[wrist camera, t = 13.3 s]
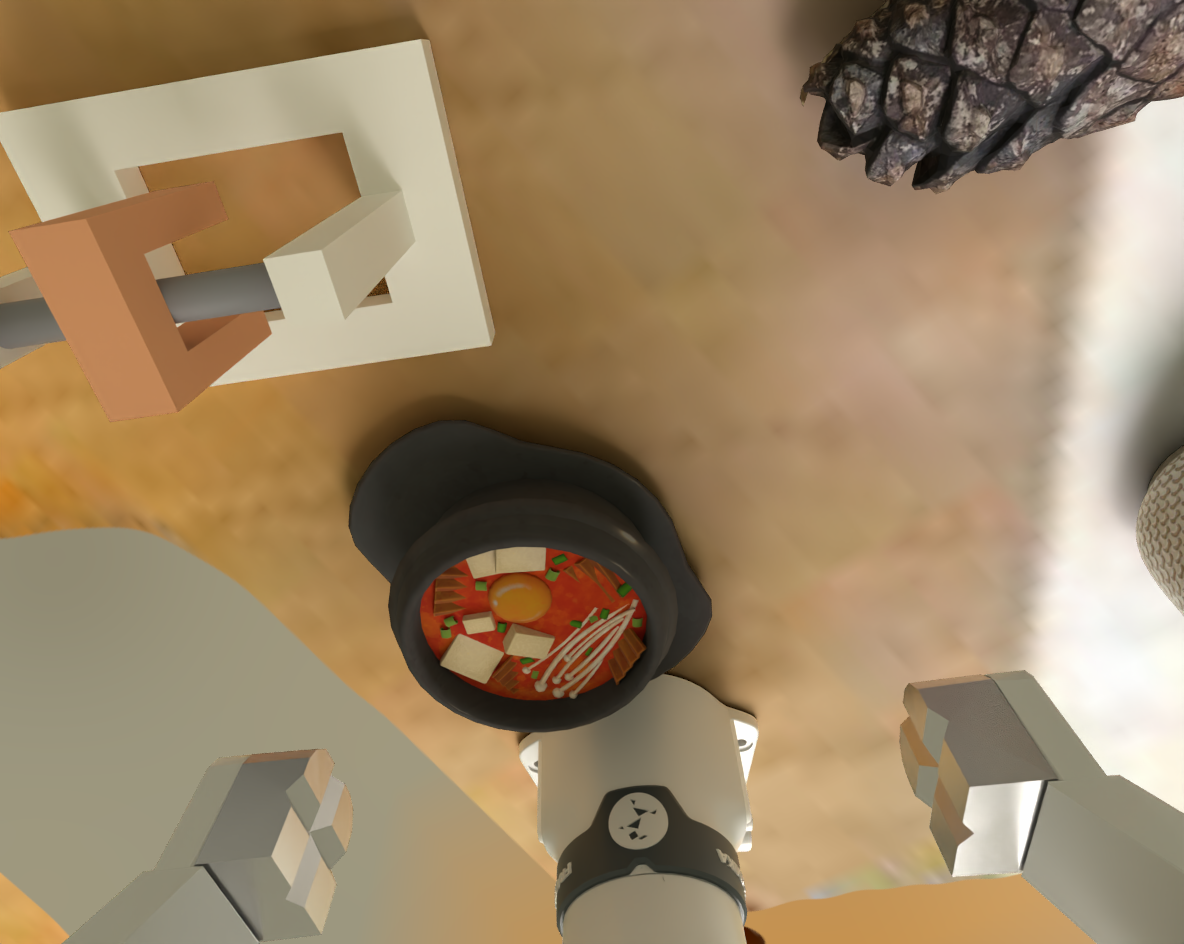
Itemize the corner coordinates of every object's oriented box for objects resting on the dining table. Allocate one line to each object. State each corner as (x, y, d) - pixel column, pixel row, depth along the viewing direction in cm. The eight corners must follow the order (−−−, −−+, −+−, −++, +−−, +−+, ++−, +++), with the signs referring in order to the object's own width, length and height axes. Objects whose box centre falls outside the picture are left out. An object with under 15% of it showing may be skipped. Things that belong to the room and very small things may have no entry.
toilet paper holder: (429, 39, 32) (337, 30, 20) (495, 332, 39) (456, 455, 27) (17, 111, 34) (-301, 143, 21) (152, 383, 41) (-30, 521, 28)
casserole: (769, 569, 48) (803, 660, 41) (588, 712, 55) (589, 812, 48) (471, 335, 39) (446, 398, 32) (301, 540, 46) (249, 630, 39)
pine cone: (757, 69, 33) (818, 74, 24) (1152, -240, 28) (1409, -373, 19) (855, 252, 37) (937, 311, 29) (1214, 13, 32) (1446, -2, 24)
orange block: (272, 333, 32) (178, 412, 25) (219, 341, 32) (110, 422, 25) (213, 181, 29) (85, 218, 21) (155, 190, 29) (8, 231, 22)
